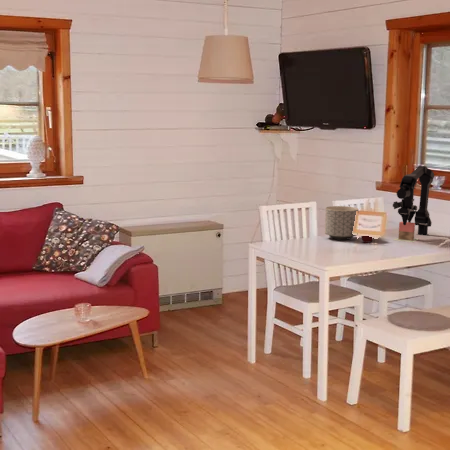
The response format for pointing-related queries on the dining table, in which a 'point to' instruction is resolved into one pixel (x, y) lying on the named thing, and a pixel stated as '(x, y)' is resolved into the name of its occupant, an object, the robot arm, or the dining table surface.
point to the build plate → (406, 240)
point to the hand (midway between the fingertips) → (406, 223)
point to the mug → (367, 239)
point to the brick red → (407, 227)
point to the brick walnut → (406, 235)
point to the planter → (340, 222)
